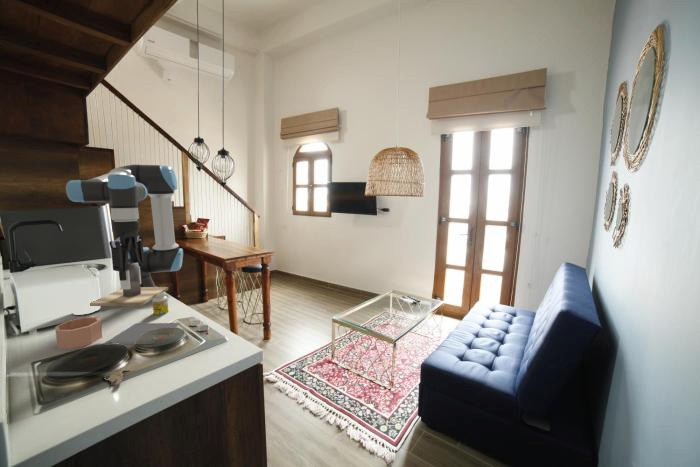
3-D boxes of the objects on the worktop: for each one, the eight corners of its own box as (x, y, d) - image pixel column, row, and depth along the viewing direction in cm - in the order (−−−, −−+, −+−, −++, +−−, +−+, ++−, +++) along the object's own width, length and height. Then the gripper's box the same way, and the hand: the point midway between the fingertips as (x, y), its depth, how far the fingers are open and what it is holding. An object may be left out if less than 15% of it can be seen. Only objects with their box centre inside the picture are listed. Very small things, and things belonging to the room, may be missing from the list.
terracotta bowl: (78, 335, 107) (76, 316, 106) (109, 335, 107) (108, 316, 106) (48, 351, 96) (45, 331, 95) (83, 351, 96) (81, 330, 95)
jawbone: (90, 388, 79) (89, 381, 79) (154, 350, 99) (153, 344, 99) (117, 390, 77) (116, 383, 77) (177, 351, 97) (176, 345, 97)
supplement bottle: (171, 312, 128) (169, 290, 127) (162, 317, 123) (161, 295, 122) (159, 311, 128) (157, 290, 127) (150, 316, 123) (148, 294, 122)
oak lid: (124, 289, 112) (121, 258, 110) (168, 289, 113) (166, 258, 111) (90, 305, 96) (86, 269, 94) (141, 305, 97) (138, 269, 95)
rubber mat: (135, 325, 115) (135, 323, 115) (180, 324, 116) (180, 323, 116) (101, 347, 98) (100, 345, 98) (153, 347, 99) (153, 344, 99)
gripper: (131, 218, 110) (137, 279, 113) (92, 223, 92) (100, 295, 95) (152, 218, 110) (157, 279, 113) (118, 223, 92) (124, 295, 95)
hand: (131, 286), depth 104 cm, fingers closed on oak lid, 5 cm apart
